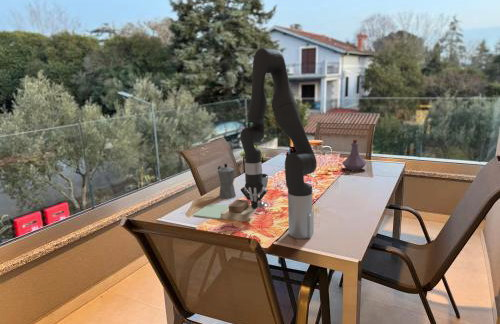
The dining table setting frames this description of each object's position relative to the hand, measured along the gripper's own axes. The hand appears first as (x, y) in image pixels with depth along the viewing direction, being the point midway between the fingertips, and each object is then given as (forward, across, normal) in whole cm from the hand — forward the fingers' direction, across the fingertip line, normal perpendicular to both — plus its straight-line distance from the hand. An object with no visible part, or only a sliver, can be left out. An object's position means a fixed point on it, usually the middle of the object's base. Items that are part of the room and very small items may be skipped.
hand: (254, 208), depth 152 cm
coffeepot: (+4, -26, +23) cm, 35 cm away
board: (+4, -8, 0) cm, 9 cm away
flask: (+4, +34, +96) cm, 102 cm away
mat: (+4, -21, 0) cm, 21 cm away
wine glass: (+4, -3, +15) cm, 16 cm away
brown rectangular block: (0, -8, 0) cm, 8 cm away
